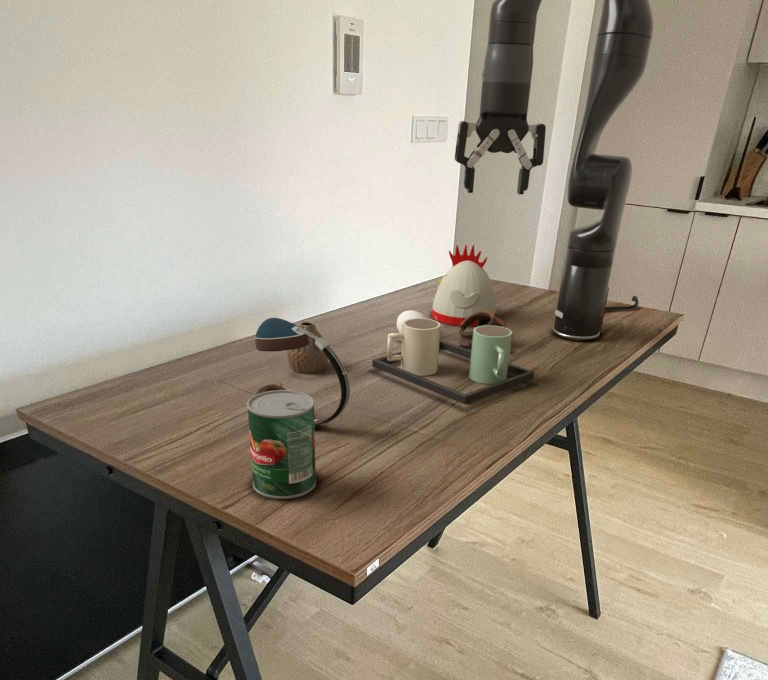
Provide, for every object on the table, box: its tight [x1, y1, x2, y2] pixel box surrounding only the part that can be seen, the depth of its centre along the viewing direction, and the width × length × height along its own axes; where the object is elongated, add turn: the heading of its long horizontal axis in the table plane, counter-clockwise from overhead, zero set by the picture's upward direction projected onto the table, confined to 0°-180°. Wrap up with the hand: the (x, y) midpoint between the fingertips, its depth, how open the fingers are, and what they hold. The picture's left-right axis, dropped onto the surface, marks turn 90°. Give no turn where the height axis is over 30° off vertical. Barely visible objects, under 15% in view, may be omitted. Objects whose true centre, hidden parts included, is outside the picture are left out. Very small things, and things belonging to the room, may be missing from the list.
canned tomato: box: [246, 389, 317, 500], centre depth 86 cm, size 8×8×11 cm
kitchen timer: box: [431, 243, 497, 327], centre depth 151 cm, size 14×14×15 cm
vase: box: [286, 321, 329, 375], centre depth 120 cm, size 7×7×9 cm
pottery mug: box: [458, 311, 508, 348], centre depth 135 cm, size 12×10×8 cm
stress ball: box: [396, 309, 428, 333], centre depth 139 cm, size 8×8×7 cm
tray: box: [371, 339, 535, 405], centre depth 121 cm, size 18×22×2 cm
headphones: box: [218, 317, 351, 427], centre depth 101 cm, size 6×15×22 cm
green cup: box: [468, 325, 513, 385], centre depth 117 cm, size 9×6×8 cm
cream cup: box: [386, 318, 442, 377], centre depth 120 cm, size 9×6×8 cm
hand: (495, 193), depth 118 cm, fingers open, 8 cm apart
